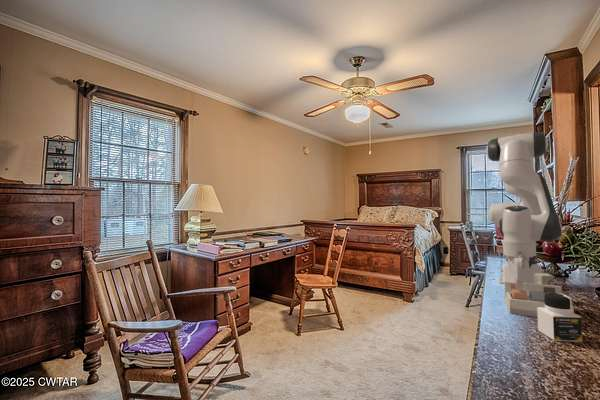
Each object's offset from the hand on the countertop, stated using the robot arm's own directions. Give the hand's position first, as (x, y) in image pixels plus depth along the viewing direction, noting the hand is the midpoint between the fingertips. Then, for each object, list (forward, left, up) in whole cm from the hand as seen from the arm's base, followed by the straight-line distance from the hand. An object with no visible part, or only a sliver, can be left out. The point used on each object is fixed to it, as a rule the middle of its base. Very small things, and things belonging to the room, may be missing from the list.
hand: (519, 289), depth 106 cm
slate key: (0, +5, -3) cm, 6 cm away
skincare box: (-19, +11, -8) cm, 23 cm away
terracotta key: (0, 0, -3) cm, 3 cm away
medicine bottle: (+20, +7, -8) cm, 22 cm away
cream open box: (-3, +5, -8) cm, 10 cm away
